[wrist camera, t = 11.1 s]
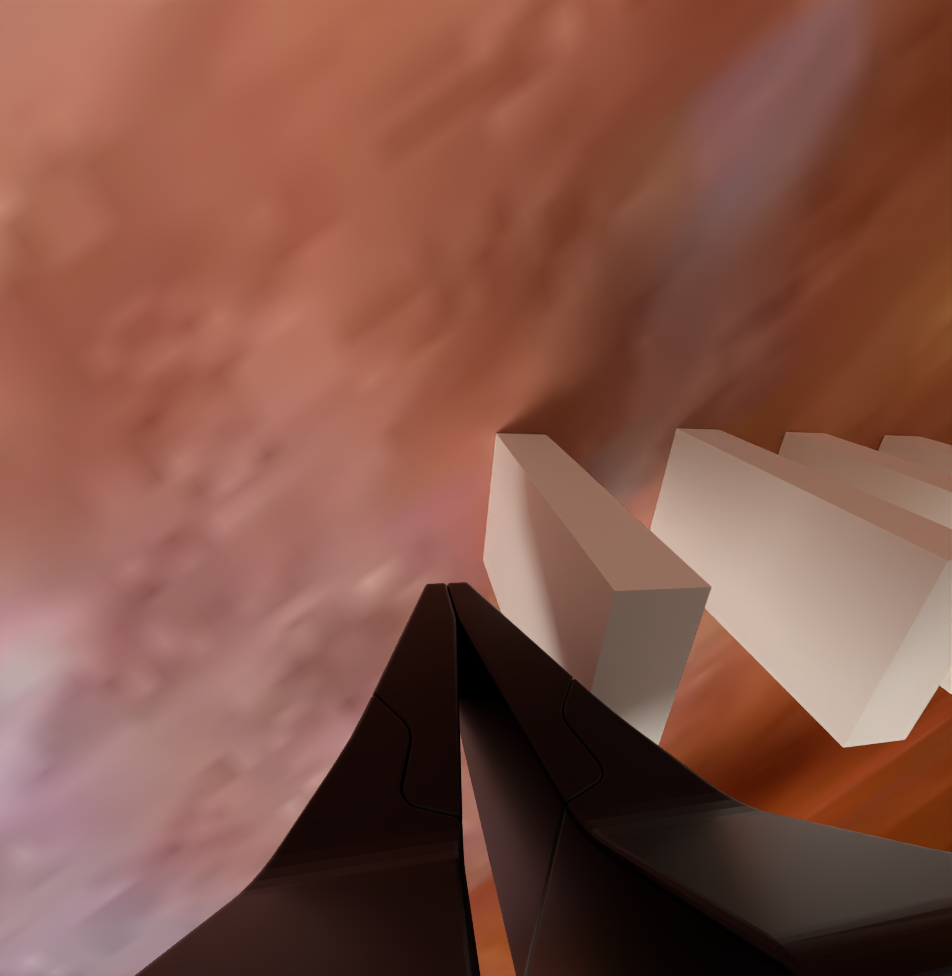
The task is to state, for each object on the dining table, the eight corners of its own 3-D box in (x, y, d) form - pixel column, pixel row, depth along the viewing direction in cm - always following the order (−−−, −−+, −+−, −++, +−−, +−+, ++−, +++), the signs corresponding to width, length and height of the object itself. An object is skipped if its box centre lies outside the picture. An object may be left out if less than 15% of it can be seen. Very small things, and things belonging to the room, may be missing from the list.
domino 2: (684, 547, 17) (904, 739, 10) (645, 548, 17) (843, 748, 9) (719, 429, 15) (1019, 558, 8) (676, 428, 15) (947, 560, 8)
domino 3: (781, 544, 18) (1050, 721, 11) (745, 545, 17) (998, 727, 10) (824, 433, 16) (1183, 552, 9) (785, 432, 16) (1124, 554, 9)
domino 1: (528, 559, 16) (645, 784, 9) (483, 560, 16) (565, 794, 8) (546, 434, 14) (711, 587, 7) (496, 433, 14) (614, 591, 7)
